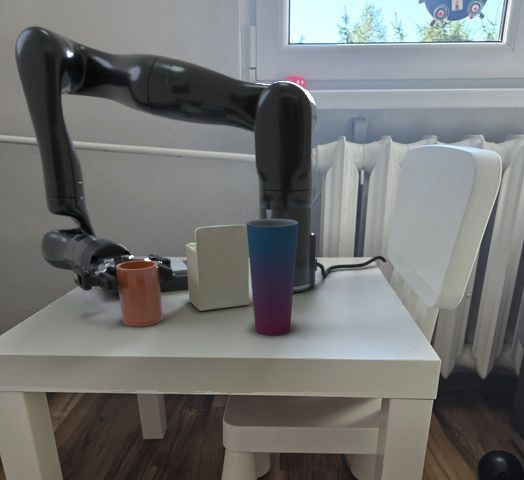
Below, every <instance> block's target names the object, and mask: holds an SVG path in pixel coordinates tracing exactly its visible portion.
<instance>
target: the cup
mask: <svg viewBox="0 0 524 480" xmlns="http://www.w3.org/2000/svg"><path fill="white" fill-rule="evenodd" d="M246 226H247V236H248V258H249V269H250V271H249V272H250V282H251V293H252V295H251V296H252V305H253V317H254V329H255V332H257V333H258V334H261V335H264V336H279V335H285V334H287V333H289V332H290V331H291V325H292V311H293V299H294V298H293V297H294V292H293V285H294V272H295V258H296V245H297V231H298V222H297V221H295V220H289V219H253V220H248V221H247V222H246Z"/></svg>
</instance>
